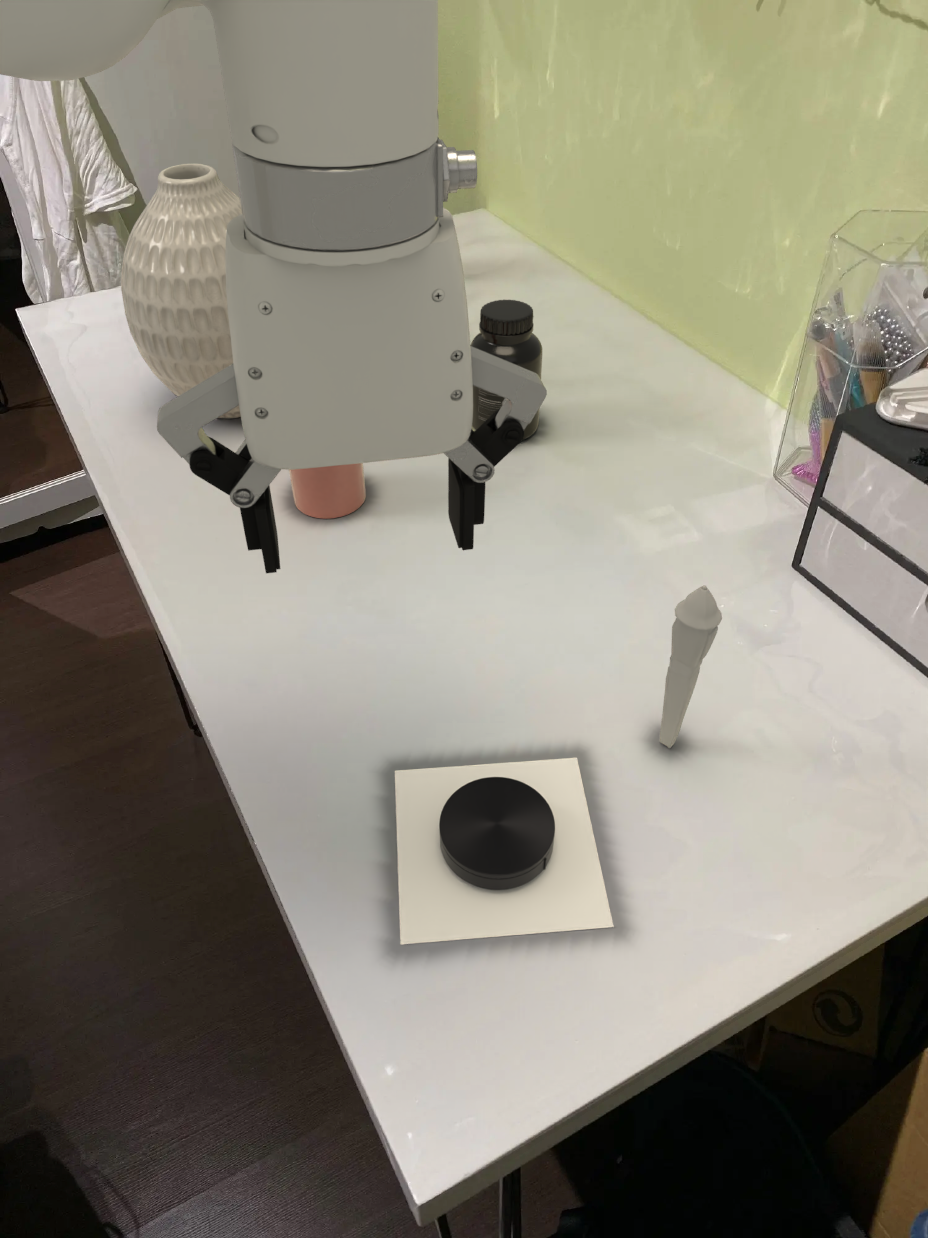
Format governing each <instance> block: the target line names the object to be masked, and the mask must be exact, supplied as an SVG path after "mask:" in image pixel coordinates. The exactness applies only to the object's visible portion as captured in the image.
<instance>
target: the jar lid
mask: <svg viewBox="0 0 928 1238" xmlns="http://www.w3.org/2000/svg"><path fill="white" fill-rule="evenodd" d="M439 831H440V847H441V851H442V854H443V857H444V859H445V861H446V863H447V865H448V866H449V867H450V869H451V870H452V871H453V872H454V873H455V874H456V875H457V876H458V877H460V878H461V879H462V880H464V881H466V882H467V883H469V884H471V885H474V886H476V887H480V888H483V889H489V890H507V889H512V888H516V887H519V886H522V885H524V884H526V883H528V882H530V881H531V880H533V879H534V878H535V877H537V876H538V875H539V874H540V873H541V872H542V871H543V870H545V869H546V865H547V864H548V862H549V860H550V858H551V855H552V851H553V845H554V835H555V821H554V816H553V813H552V810H551V808H550V806H549V804H548V803H547V801H546V800H545V799H544V798H543V796H542V795H541V794H540V793H538V792H537V791H536V790H535V789H533V788H532V787H530V786H529V785H527V784H525V783H523V782H520V781H518V780H515V779H511V778H505V777H487V778H481V779H478V780H474V781H472V782H469V783H467V784H465V785H464V786H462V787H460V788H459V789H458V790H456V791H455V792H454V793H453V794H452V795H451V796H450V798H449V799H448V800H447V802H446V803H445V805H444V807H443V809H442V812H441V815H440V822H439Z"/></svg>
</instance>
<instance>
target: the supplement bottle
mask: <svg viewBox="0 0 928 1238" xmlns="http://www.w3.org/2000/svg"><path fill="white" fill-rule="evenodd" d="M478 329H479V333H478V334H476V335H475V337H474V338H473V339H472V341H470V346H472V347H474V348H477V349H479V350H482V351H484V352H486V353H489V354H491V355H494V356H496V357H498V358H501V359H503V360H506V361H508V362H510V363H513V364H515V365H518V366H520V367H523V368H525V369H527V370H530V371H532V372H535V373H536V374H538V375H539V377H540V379H541V380H542V371H543V345H542V342H541V341H540V339H539V338H538V337H537V335H535V334H534V333H533V332H534V309H533V306H531V305H530V304H528V303H526V302H524V301H520V300H516V299H498V300H493V301H489V302H487V303H486V304H483V306H481V309H480V313H479V324H478ZM504 399H505V398H504V397H501V396H499V395H496V394H494V393H491V392H489V391H486V390H484V389H481V388H478V387H476V386H473V420H472V427H473V428H474V429H475V430H477V429H478V428H479V427H480V426H481V425H482V424H483V423H484V422H485V421H486V420H487V419H488V418H489V417H490V416H491V415H492V414H493V413H494V412H495V411H496V410H498V409H499V408H501V407H502V405H503V404H502V402H503V401H504ZM540 409H541V407H540V408H539V409H538V411H537V413H536V414H535V416H534V418H533V419H532V421H531V423H530V424H528V425H527V426H526V428H525V430H524V438H523V440H522V441H524V440H526V439H528V438H530V437H532V435H533V434H535V432H537V430H538V427H539V422H540V411H541V410H540Z"/></svg>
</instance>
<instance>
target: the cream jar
mask: <svg viewBox="0 0 928 1238" xmlns="http://www.w3.org/2000/svg"><path fill="white" fill-rule="evenodd" d="M364 470H365V469H364V463H358V464H348V465H337V466H327V467H316V468H306V469H289V470H288V472H289V473H288V474H289V478H290V485H291V491H292V497H293V502H294V505H295V507H296V508H297V510H298V511H300V512H301V513H302V514H304V515H306V516H308V517H312V518H316V519H324V520H325V519H326V520H327V519H338V518H341V517H344V516H345V517H346V516H348V515H350V514H352V513H354V512H355V511H357V510H358V509H359V508H361V507H362V505H363V504H364V503H365V500H366V497H367V491H366V481H365V480H366V479H365V471H364Z"/></svg>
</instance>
